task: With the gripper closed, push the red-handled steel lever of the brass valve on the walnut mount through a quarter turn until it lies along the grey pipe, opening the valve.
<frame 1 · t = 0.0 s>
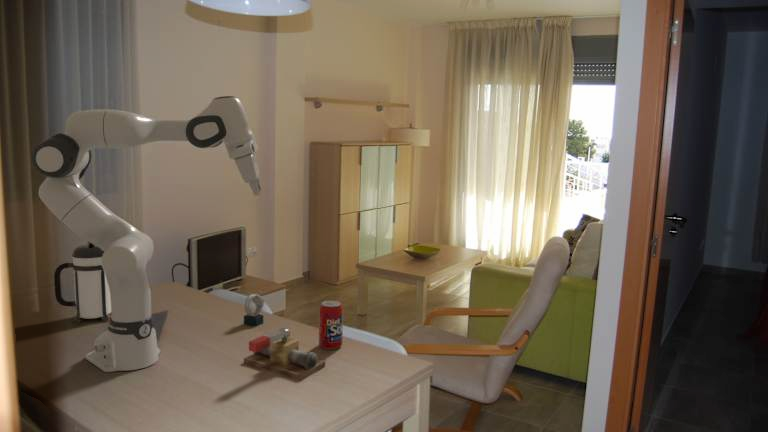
hand: (258, 193, 173), 52 cm above the table, tool tilted 20°, fingers open, 8 cm apart
soda can: (330, 346, 192), on the table
coffee press: (90, 318, 211), on the table
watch: (253, 324, 211), on the table
valve mount: (284, 364, 176), on the table
valve lever: (270, 338, 169), point 10 cm above the table, hinge at -90.0°
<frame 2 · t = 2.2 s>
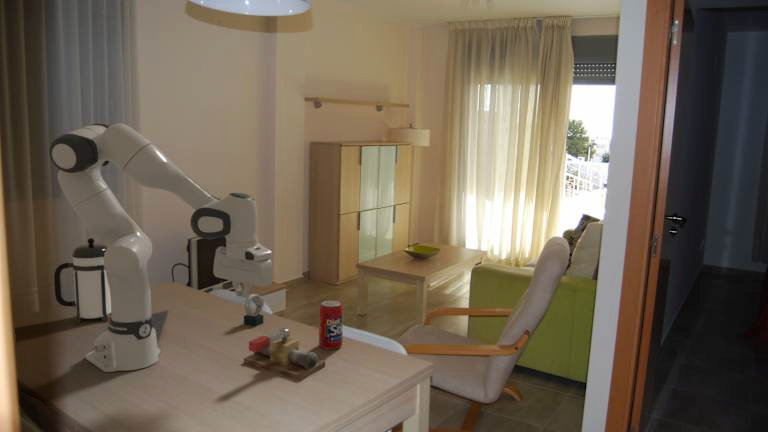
hand: (242, 296, 166), 23 cm above the table, tool pointing down, fingers closed
nothing on the table moved.
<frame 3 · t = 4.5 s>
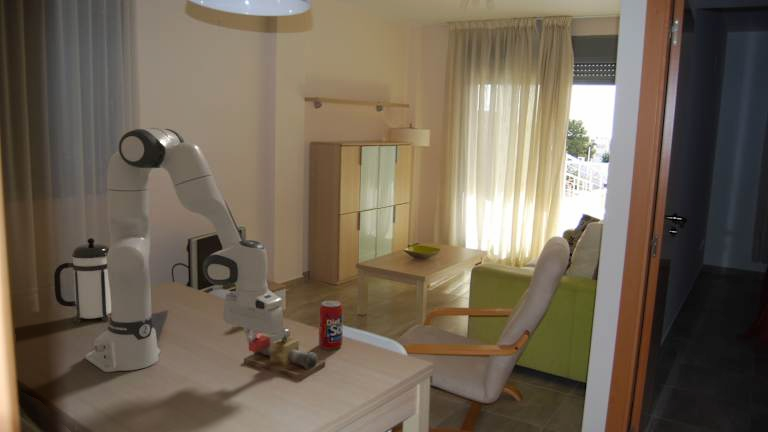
hand: (252, 343, 166), 10 cm above the table, tool pointing down, fingers closed
valve lever: (270, 338, 169), point 10 cm above the table, hinge at -90.0°, touching gripper
everything else where it was.
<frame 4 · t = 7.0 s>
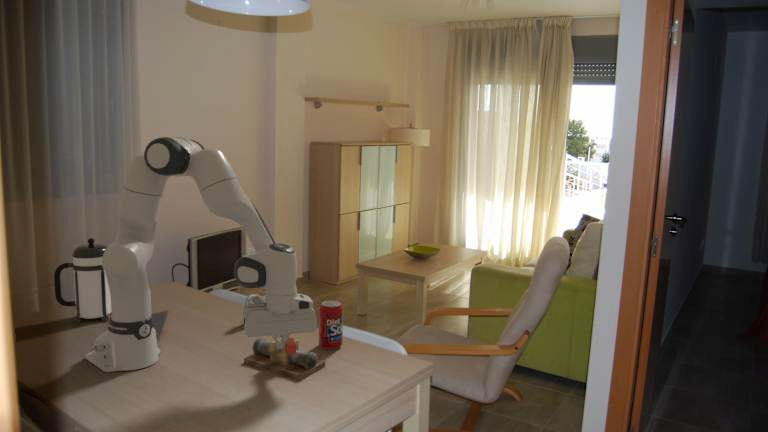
hand: (280, 348, 163), 10 cm above the table, tool pointing down, fingers closed
valve lever: (287, 340, 169), point 10 cm above the table, hinge at -42.1°, touching gripper
everything else where it was.
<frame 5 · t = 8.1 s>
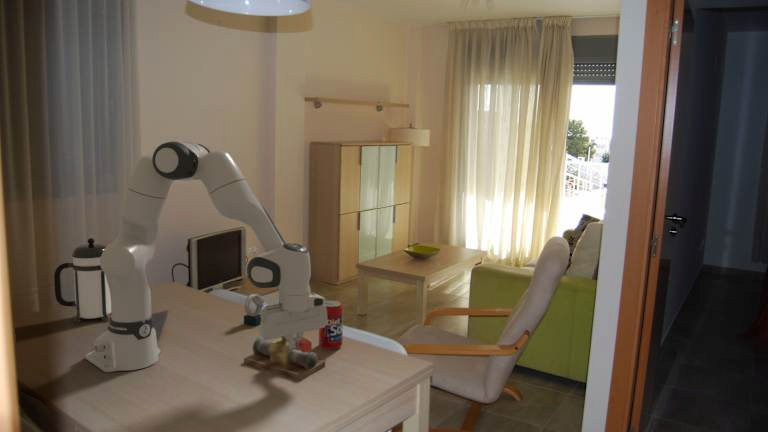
hand: (294, 347, 164), 10 cm above the table, tool pointing down, fingers closed
valve lever: (294, 339, 169), point 10 cm above the table, hinge at -22.5°, touching gripper
everything else where it was.
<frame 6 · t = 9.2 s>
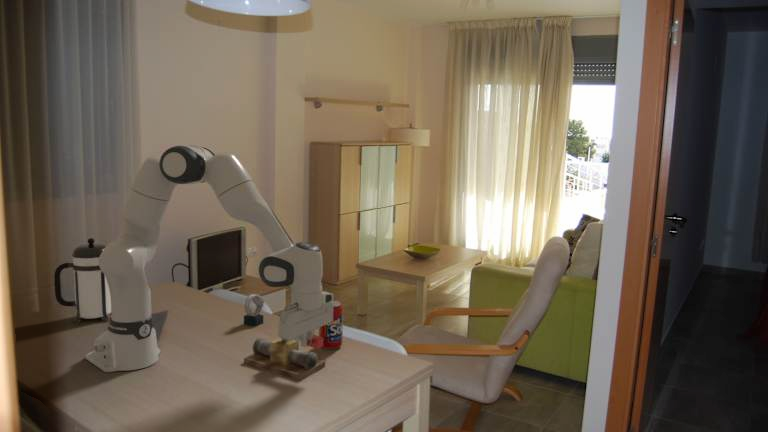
hand: (306, 345, 166), 10 cm above the table, tool pointing down, fingers closed
valve lever: (300, 337, 171), point 10 cm above the table, hinge at -2.5°, touching gripper
everything else where it was.
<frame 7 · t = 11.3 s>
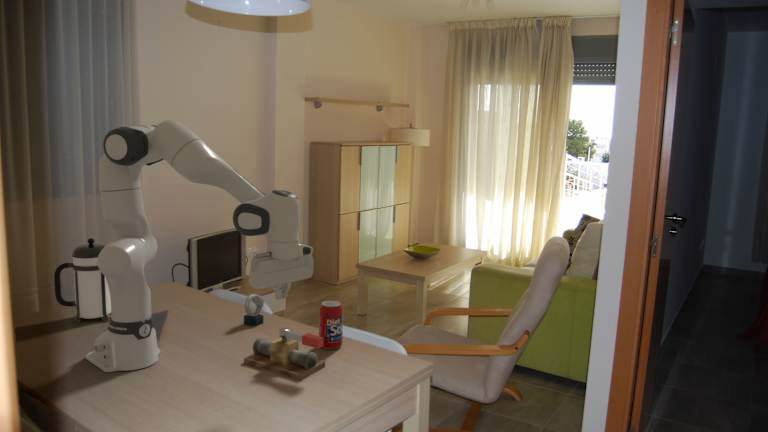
hand: (281, 298, 159), 25 cm above the table, tool pointing down, fingers closed
valve lever: (300, 337, 171), point 10 cm above the table, hinge at -2.2°
everything else where it was.
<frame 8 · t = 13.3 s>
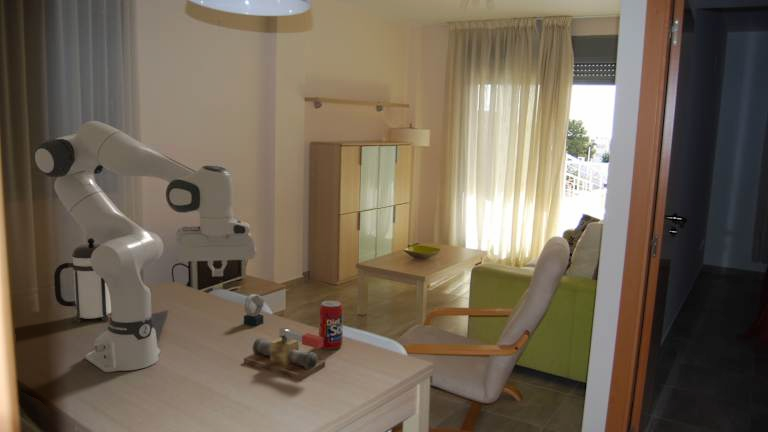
hand: (217, 275, 158), 31 cm above the table, tool pointing down, fingers closed
nothing on the table moved.
at the end: valve lever at -2° (first picture: -90°); soda can moved 0.2 cm from its start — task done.
